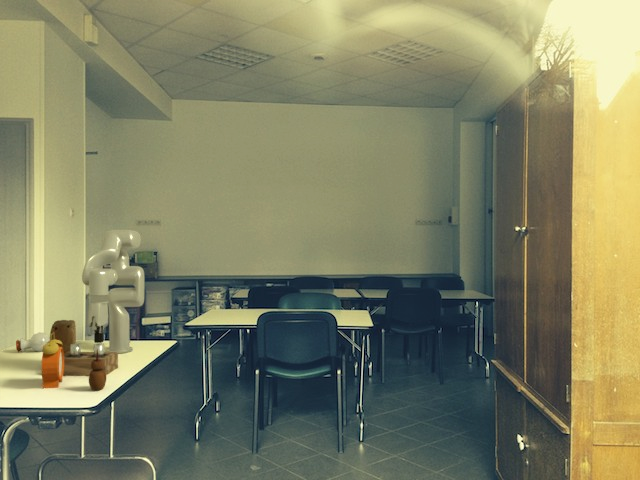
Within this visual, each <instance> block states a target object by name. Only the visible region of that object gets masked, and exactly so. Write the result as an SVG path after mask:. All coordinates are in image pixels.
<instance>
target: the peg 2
mask: <svg viewBox="0 0 640 480" xmlns="http://www.w3.org/2000/svg"><path fill="white" fill-rule="evenodd" d="M97 349H98V357H103V356H104V352H105V343H104V342H102V343H94V344H93V352H94V357H96V355H97Z"/></svg>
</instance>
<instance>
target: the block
mask: <svg viewBox="0 0 640 480" xmlns="http://www.w3.org/2000/svg"><path fill="white" fill-rule="evenodd" d="M76 326H77V325H76V321H75V320H74V319H70V320H67V319H61V320H55V321H54V322H53V323H52V325H51V328H50V333H49V338H50V340H54V339H56V340H60V341H61V342H62V346H61V347H62V348H63V351H64V353H66V352H68V351H70V344H72V343H77V331H76ZM53 332H54V333H53ZM52 333H53V334H52ZM51 334H52V335H51Z"/></svg>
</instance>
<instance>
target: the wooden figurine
mask: <svg viewBox="0 0 640 480" xmlns="http://www.w3.org/2000/svg"><path fill="white" fill-rule="evenodd" d="M103 367H104V361H103V360H101V359H99V357H98V349H97V355H96V360H93V361H92V362H91V368H92V371H91V372H90V374H89V376H88V384H89V387H90V389H91V390H92V391H101V390H103V389H104V388H105V386H106V383H107V375H106V372H105V370H104V369H103Z"/></svg>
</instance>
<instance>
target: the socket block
mask: <svg viewBox="0 0 640 480" xmlns="http://www.w3.org/2000/svg"><path fill="white" fill-rule="evenodd" d="M99 359H101V360H103V361H104V367H103V369H104V370H105V372H106V376H108V375H109V374H111V373H113V371H115V370H117V369H118V368H119V353H118V352H106V351H104V356H103V357H99ZM93 360H96V357H94V351H81V356H79V357H70V351H68V352H66V353H64V372H63V377H64V376H65V377H69V376H70V377H72V376H73V377H78V376H79V377H89V374H90V372H91V371H92V368H91V362H92V361H93Z"/></svg>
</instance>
